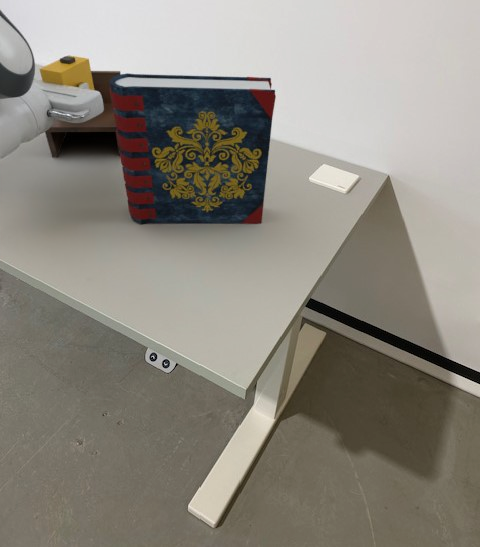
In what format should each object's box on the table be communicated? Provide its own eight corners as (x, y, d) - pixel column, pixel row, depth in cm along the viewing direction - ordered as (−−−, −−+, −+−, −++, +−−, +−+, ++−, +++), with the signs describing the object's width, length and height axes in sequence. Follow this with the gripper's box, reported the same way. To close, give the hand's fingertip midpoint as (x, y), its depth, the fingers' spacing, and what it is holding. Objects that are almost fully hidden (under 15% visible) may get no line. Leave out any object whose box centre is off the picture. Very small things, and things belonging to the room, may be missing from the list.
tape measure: (71, 121, 81) (59, 68, 75) (51, 117, 82) (38, 64, 75) (97, 104, 88) (88, 54, 81) (78, 101, 88) (67, 51, 82)
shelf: (51, 157, 94) (34, 93, 85) (62, 129, 104) (47, 70, 95) (124, 155, 96) (115, 93, 87) (128, 129, 106) (120, 70, 97)
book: (127, 225, 78) (104, 87, 60) (131, 204, 83) (111, 71, 65) (262, 225, 80) (276, 92, 63) (258, 204, 85) (271, 76, 68)
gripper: (74, 101, 68) (117, 75, 78) (-31, 81, 72) (23, 58, 82) (82, 138, 73) (122, 109, 82) (-17, 117, 76) (32, 91, 86)
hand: (72, 84), depth 82 cm, fingers closed on tape measure, 4 cm apart
